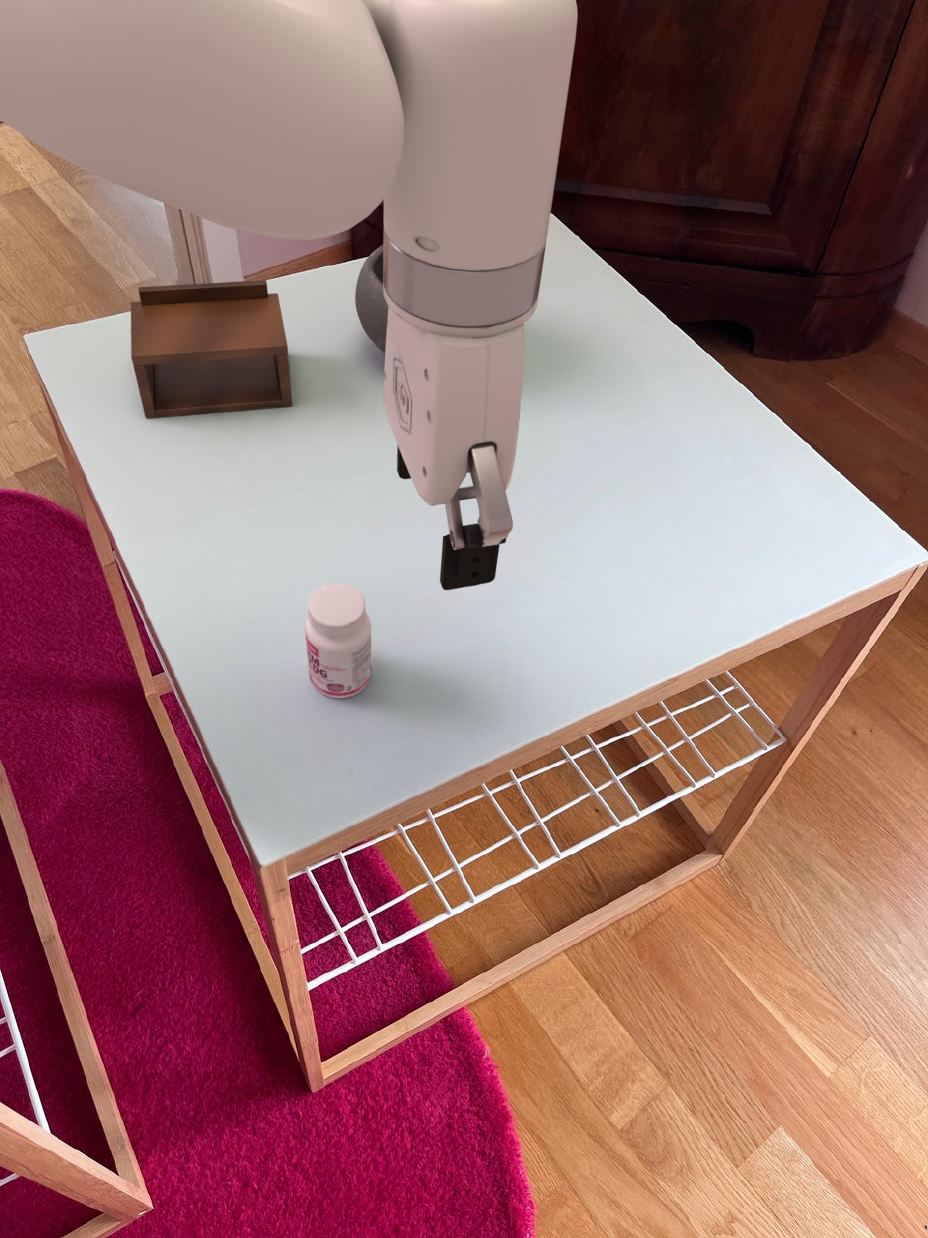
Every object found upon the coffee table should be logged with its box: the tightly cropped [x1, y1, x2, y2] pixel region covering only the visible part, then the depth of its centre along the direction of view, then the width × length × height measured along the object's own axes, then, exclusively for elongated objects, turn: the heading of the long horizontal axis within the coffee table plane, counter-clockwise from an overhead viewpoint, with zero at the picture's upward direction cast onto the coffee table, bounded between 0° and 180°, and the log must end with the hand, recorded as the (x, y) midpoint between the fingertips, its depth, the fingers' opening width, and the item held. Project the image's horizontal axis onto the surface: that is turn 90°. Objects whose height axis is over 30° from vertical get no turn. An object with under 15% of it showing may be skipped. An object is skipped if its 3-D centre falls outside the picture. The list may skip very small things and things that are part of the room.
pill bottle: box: [304, 583, 372, 699], centre depth 70 cm, size 5×5×8 cm
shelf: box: [130, 279, 293, 419], centre depth 92 cm, size 14×9×8 cm, turn 103°
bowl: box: [354, 244, 389, 354], centre depth 97 cm, size 15×15×10 cm
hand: (443, 525), depth 58 cm, fingers open, 9 cm apart
